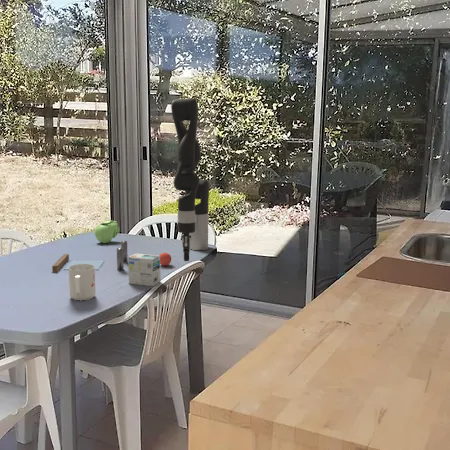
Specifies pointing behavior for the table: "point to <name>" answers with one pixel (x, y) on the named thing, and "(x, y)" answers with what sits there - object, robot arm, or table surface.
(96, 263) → the light blue tilted panel
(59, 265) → the stopper wall
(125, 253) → the far post
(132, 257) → the light bulb box
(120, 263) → the near post
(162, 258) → the ball
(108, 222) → the green rounded piece
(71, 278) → the mug
